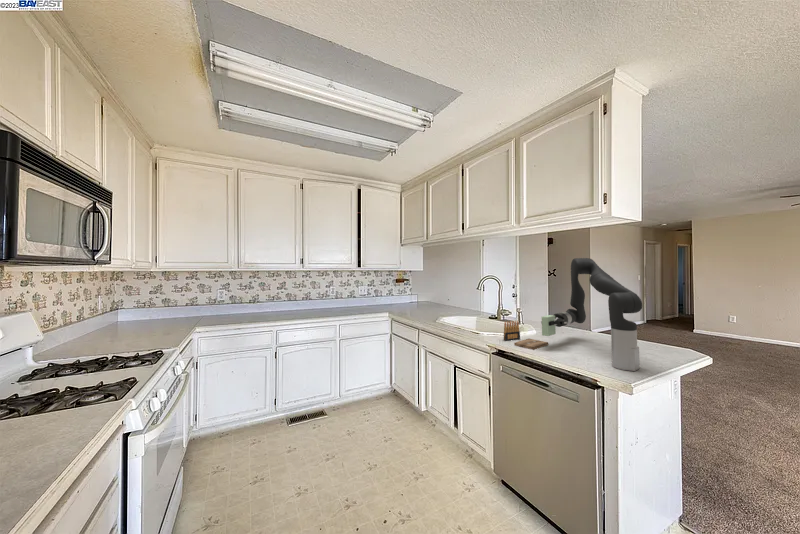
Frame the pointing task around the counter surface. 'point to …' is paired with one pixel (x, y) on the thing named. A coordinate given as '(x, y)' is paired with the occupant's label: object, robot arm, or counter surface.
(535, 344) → the bolt board
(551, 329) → the green bar
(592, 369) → the counter surface
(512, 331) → the ammunition clip
